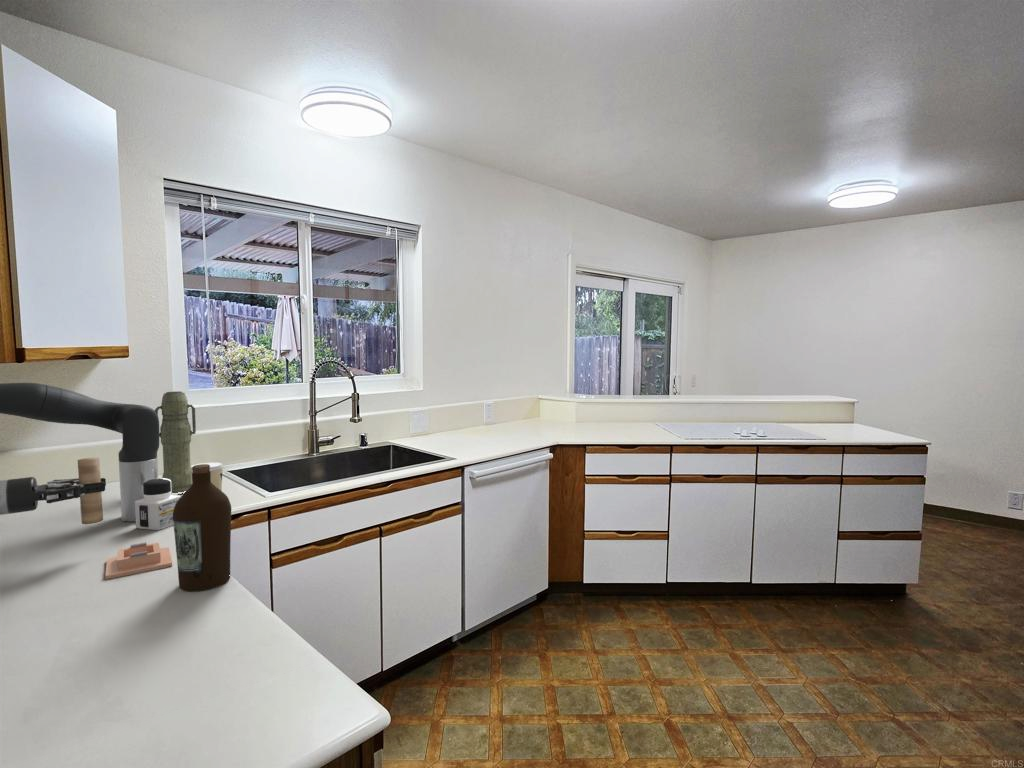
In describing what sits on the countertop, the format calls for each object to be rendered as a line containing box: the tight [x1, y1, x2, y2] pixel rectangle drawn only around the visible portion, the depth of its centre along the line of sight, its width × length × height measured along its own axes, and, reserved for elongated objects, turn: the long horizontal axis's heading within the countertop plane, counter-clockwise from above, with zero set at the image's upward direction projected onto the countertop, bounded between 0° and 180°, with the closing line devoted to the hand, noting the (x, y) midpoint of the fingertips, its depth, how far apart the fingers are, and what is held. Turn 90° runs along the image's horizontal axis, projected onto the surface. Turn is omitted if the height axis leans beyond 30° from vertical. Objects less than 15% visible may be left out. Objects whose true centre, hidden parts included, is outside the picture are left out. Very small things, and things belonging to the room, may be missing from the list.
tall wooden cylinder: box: [77, 457, 104, 525], centre depth 124 cm, size 4×4×15 cm
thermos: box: [153, 391, 197, 493], centre depth 182 cm, size 9×12×35 cm
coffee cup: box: [190, 461, 224, 492], centre depth 171 cm, size 9×9×12 cm
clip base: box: [105, 541, 173, 580], centre depth 121 cm, size 12×12×4 cm
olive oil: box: [172, 464, 232, 592], centre depth 111 cm, size 11×11×25 cm
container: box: [135, 477, 181, 531], centre depth 148 cm, size 8×8×13 cm
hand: (104, 484), depth 126 cm, fingers closed on tall wooden cylinder, 4 cm apart
